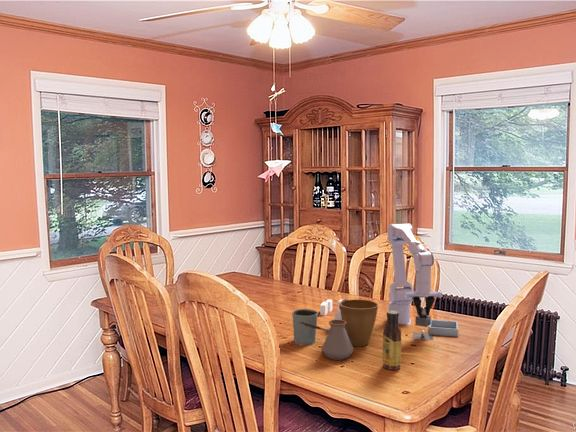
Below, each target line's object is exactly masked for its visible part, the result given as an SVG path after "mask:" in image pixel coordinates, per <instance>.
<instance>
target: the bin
mask: <svg viewBox="0 0 576 432" xmlns="http://www.w3.org/2000/svg"><path fill="white" fill-rule="evenodd" d="M428 327H429V330H428V332H429V333H428V334H433V336H434V335H435V336H446V337H458V336H459V323H458V321H456V320H441V319H440V320H439V319H431V324H430V325H429V326H428Z"/></svg>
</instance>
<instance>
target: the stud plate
mask: <svg viewBox="0 0 576 432" xmlns="http://www.w3.org/2000/svg"><path fill="white" fill-rule="evenodd" d="M411 339H412V340H422V341H423V340H424V341H434V335H433V334H429V333H426V331H425V330H421V331H420V332H413V333H412V338H411Z"/></svg>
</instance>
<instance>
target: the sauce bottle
mask: <svg viewBox="0 0 576 432" xmlns="http://www.w3.org/2000/svg"><path fill="white" fill-rule="evenodd" d="M398 316H399V312H398V311H393V310H390V311H388V310H387V311H386V325H385V327H384V331H383V335H382V366H383V368H385V369H386V370H391V371H392V370H393V371H394V370H395V371H396V370H400V368H401V363H402V330H401V327H400V326H399V324H398Z"/></svg>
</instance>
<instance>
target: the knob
mask: <svg viewBox="0 0 576 432" xmlns="http://www.w3.org/2000/svg"><path fill="white" fill-rule="evenodd" d="M431 317H432V316H431V315H429V316H427V308H426V306H421V316H418V315H416V316H415V321H414V322H415V324H414V325H415V326H419V327H425V328H427V327H429V326H430V324H431V320H432V319H431Z"/></svg>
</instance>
